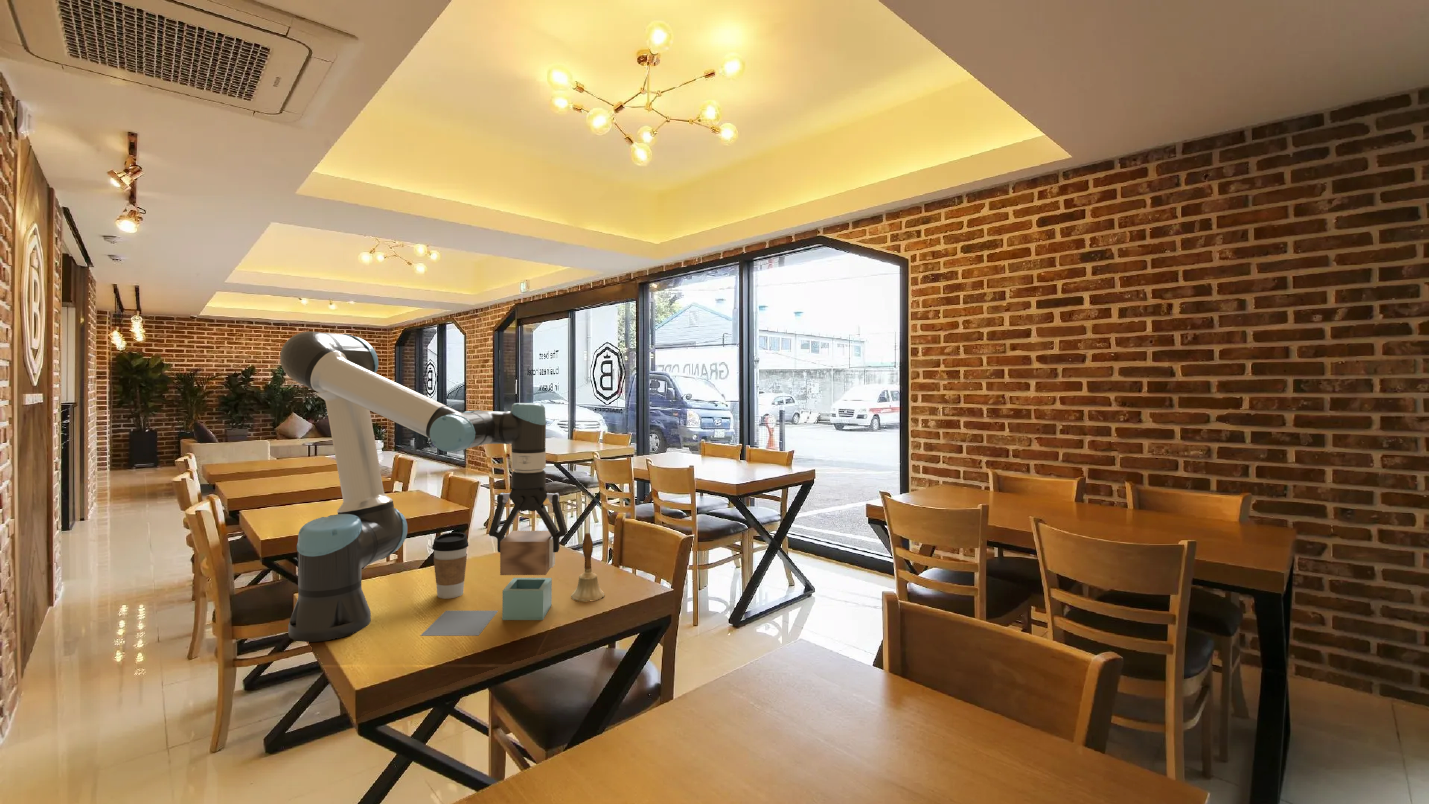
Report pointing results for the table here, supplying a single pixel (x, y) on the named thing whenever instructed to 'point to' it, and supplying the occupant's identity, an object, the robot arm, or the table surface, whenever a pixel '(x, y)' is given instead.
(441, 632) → the mat
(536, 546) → the brown wooden block
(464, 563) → the coffee cup
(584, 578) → the hand bell
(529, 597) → the mint square pot
